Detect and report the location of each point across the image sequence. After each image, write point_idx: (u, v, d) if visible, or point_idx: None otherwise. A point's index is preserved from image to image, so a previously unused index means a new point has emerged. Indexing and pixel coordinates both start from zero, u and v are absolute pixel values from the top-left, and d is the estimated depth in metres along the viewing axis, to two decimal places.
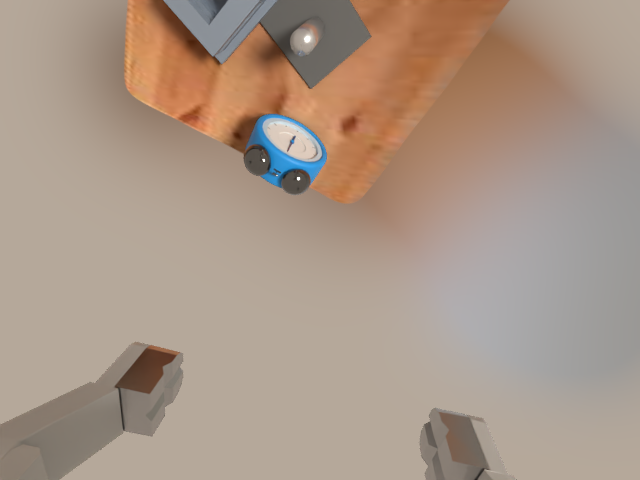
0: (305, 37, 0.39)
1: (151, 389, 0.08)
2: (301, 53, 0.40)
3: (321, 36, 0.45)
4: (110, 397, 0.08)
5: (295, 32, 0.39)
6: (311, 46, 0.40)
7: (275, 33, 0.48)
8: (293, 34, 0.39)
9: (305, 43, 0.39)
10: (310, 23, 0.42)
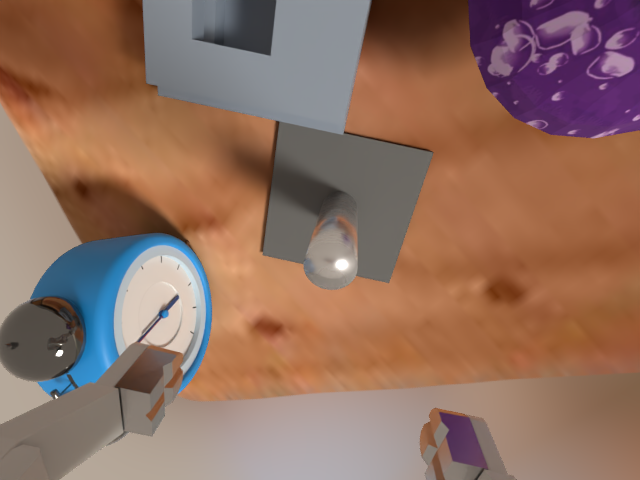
0: (344, 267, 0.17)
1: (151, 389, 0.08)
2: (313, 276, 0.18)
3: None
4: (110, 397, 0.08)
5: (337, 246, 0.17)
6: (339, 285, 0.18)
7: (285, 155, 0.25)
8: (331, 245, 0.17)
9: (335, 273, 0.17)
10: (355, 227, 0.21)
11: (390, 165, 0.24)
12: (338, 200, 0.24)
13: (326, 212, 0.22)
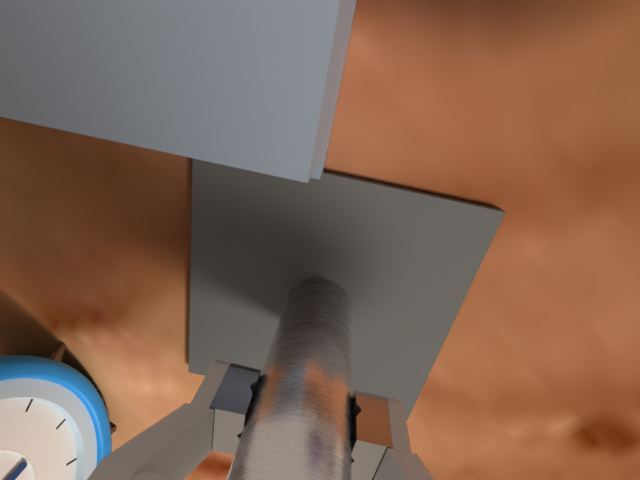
0: None
1: (245, 410, 0.08)
2: None
3: None
4: (207, 418, 0.08)
5: None
6: None
7: (210, 213, 0.13)
8: None
9: None
10: (347, 409, 0.09)
11: (416, 233, 0.12)
12: (311, 312, 0.11)
13: (280, 362, 0.09)
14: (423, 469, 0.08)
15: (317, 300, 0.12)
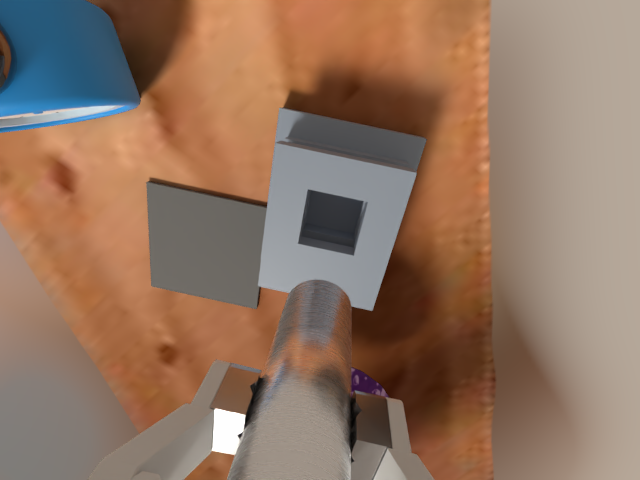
0: None
1: (245, 410, 0.08)
2: None
3: None
4: (207, 418, 0.08)
5: None
6: None
7: (242, 210, 0.30)
8: None
9: None
10: (346, 411, 0.09)
11: (244, 284, 0.33)
12: (311, 314, 0.11)
13: (280, 364, 0.09)
14: (423, 469, 0.08)
15: (317, 302, 0.12)
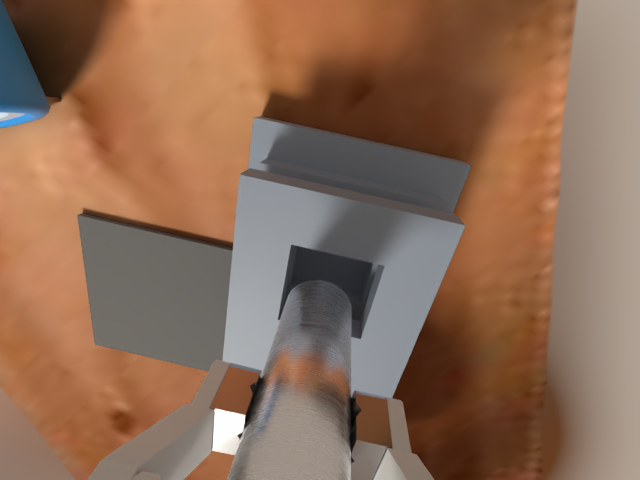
0: None
1: (245, 410, 0.08)
2: None
3: None
4: (207, 418, 0.08)
5: None
6: None
7: (207, 255, 0.22)
8: None
9: None
10: (346, 411, 0.09)
11: (214, 347, 0.25)
12: (311, 314, 0.11)
13: (280, 364, 0.09)
14: (423, 469, 0.08)
15: (317, 302, 0.12)
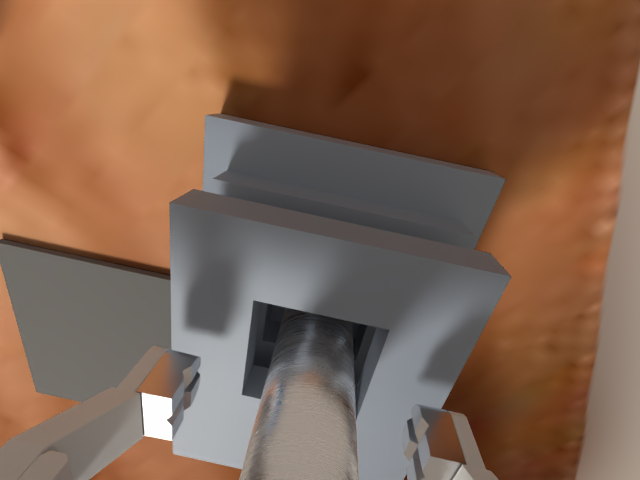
0: None
1: (172, 394, 0.08)
2: None
3: None
4: (132, 402, 0.08)
5: None
6: None
7: (162, 290, 0.17)
8: None
9: None
10: (351, 388, 0.10)
11: None
12: None
13: (289, 348, 0.10)
14: None
15: None
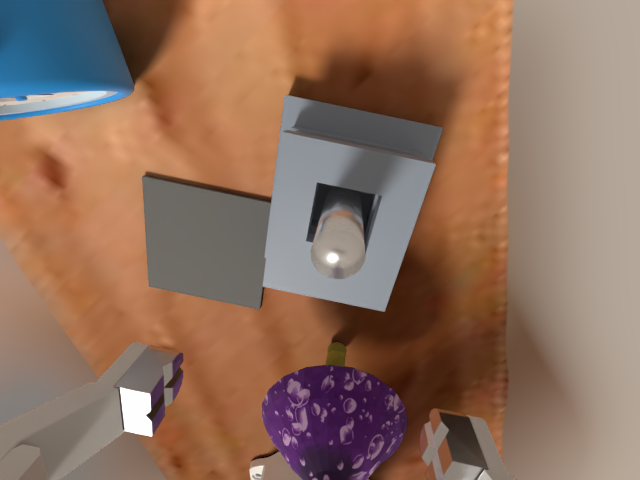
0: (352, 256, 0.17)
1: (151, 389, 0.08)
2: (320, 265, 0.17)
3: None
4: (110, 397, 0.08)
5: (345, 234, 0.16)
6: (346, 274, 0.17)
7: (244, 206, 0.28)
8: (338, 232, 0.16)
9: (342, 262, 0.17)
10: (361, 217, 0.21)
11: (247, 284, 0.32)
12: (342, 192, 0.23)
13: (331, 203, 0.21)
14: None
15: (344, 189, 0.24)
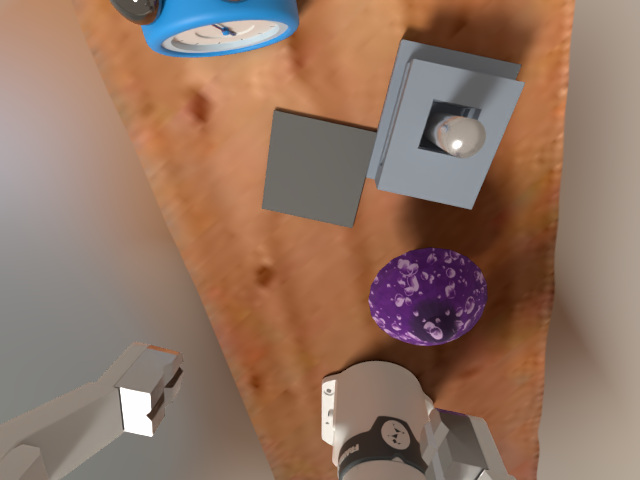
0: (476, 139, 0.24)
1: (151, 389, 0.08)
2: (451, 147, 0.25)
3: None
4: (110, 397, 0.08)
5: (473, 121, 0.24)
6: (469, 154, 0.25)
7: (352, 135, 0.36)
8: (469, 120, 0.24)
9: (468, 144, 0.25)
10: None
11: (345, 204, 0.39)
12: (444, 113, 0.31)
13: (442, 116, 0.29)
14: None
15: (443, 113, 0.31)
